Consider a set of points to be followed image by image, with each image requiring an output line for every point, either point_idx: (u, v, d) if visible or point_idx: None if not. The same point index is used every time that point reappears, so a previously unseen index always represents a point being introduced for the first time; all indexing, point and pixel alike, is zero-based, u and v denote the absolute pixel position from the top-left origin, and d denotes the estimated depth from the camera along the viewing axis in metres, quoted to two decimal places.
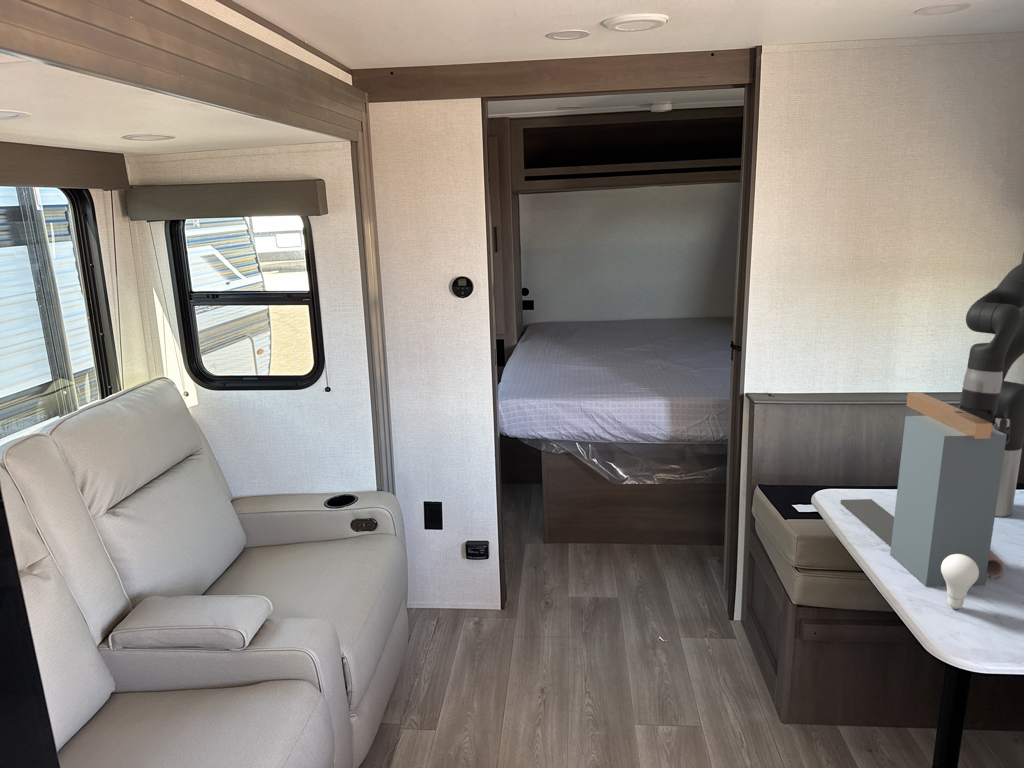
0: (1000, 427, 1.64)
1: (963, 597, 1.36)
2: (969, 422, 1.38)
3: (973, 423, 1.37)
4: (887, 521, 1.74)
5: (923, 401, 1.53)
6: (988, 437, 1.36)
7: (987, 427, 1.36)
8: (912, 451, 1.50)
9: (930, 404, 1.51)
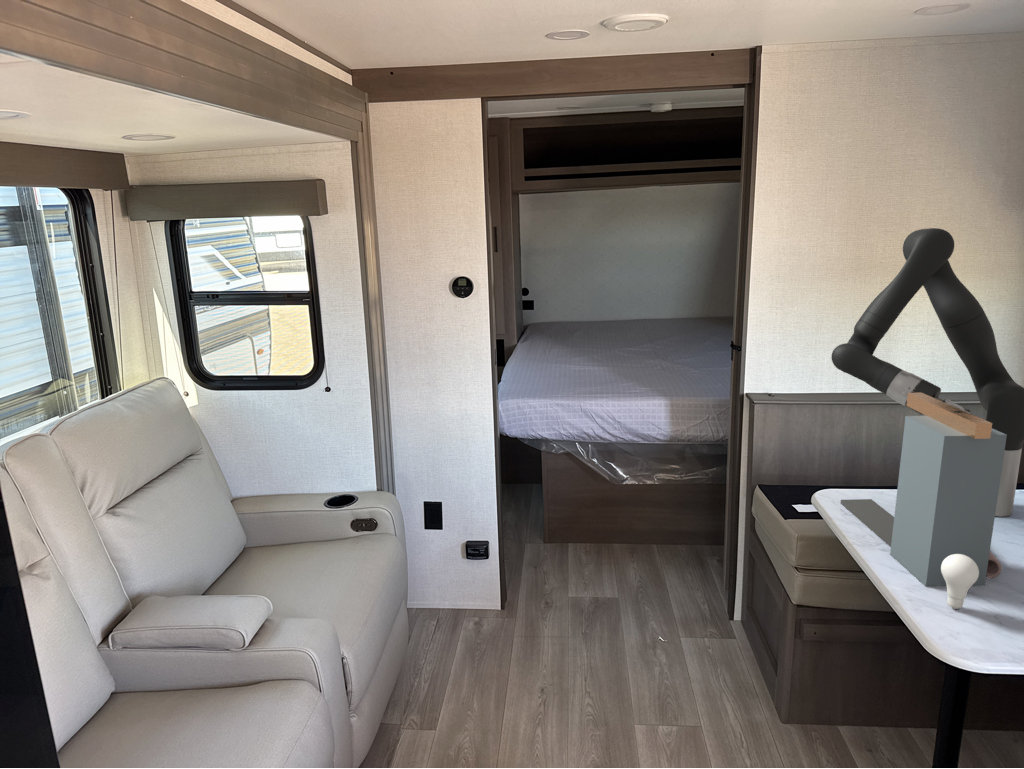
0: None
1: (963, 597, 1.36)
2: (969, 422, 1.38)
3: (973, 423, 1.37)
4: (887, 521, 1.74)
5: (923, 401, 1.53)
6: (988, 437, 1.36)
7: (987, 427, 1.36)
8: (912, 451, 1.50)
9: (930, 404, 1.51)
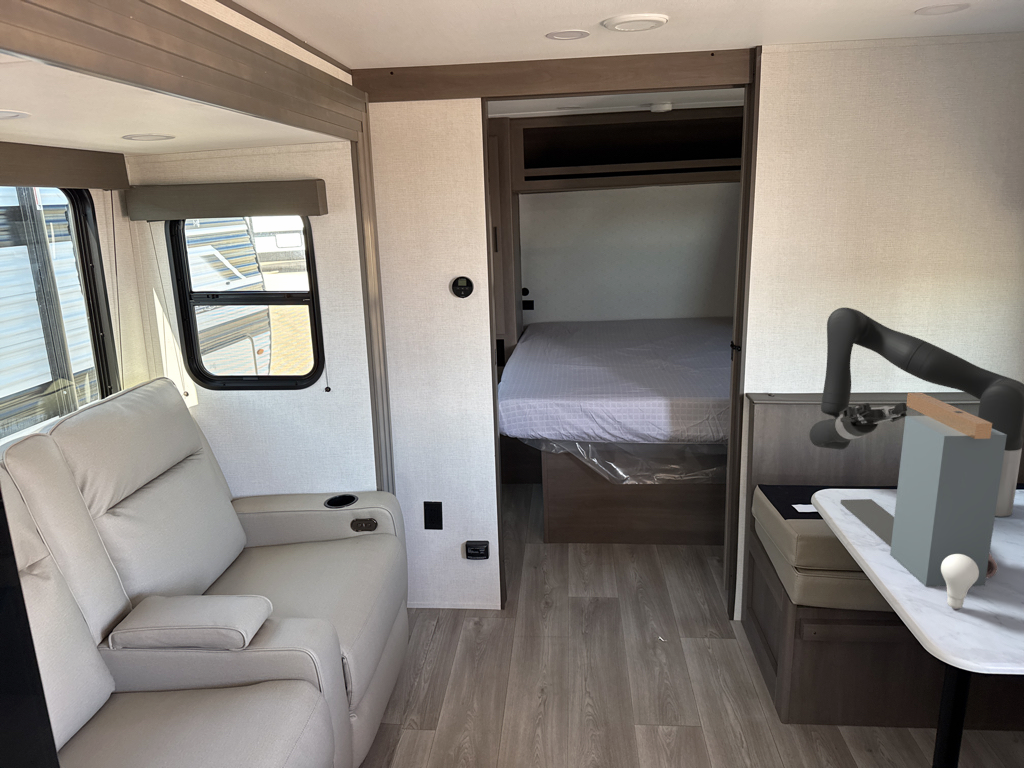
0: (847, 420, 1.79)
1: (963, 597, 1.36)
2: (969, 422, 1.38)
3: (973, 423, 1.37)
4: (887, 521, 1.74)
5: (923, 401, 1.53)
6: (988, 437, 1.36)
7: (987, 427, 1.36)
8: (912, 451, 1.50)
9: (930, 404, 1.51)
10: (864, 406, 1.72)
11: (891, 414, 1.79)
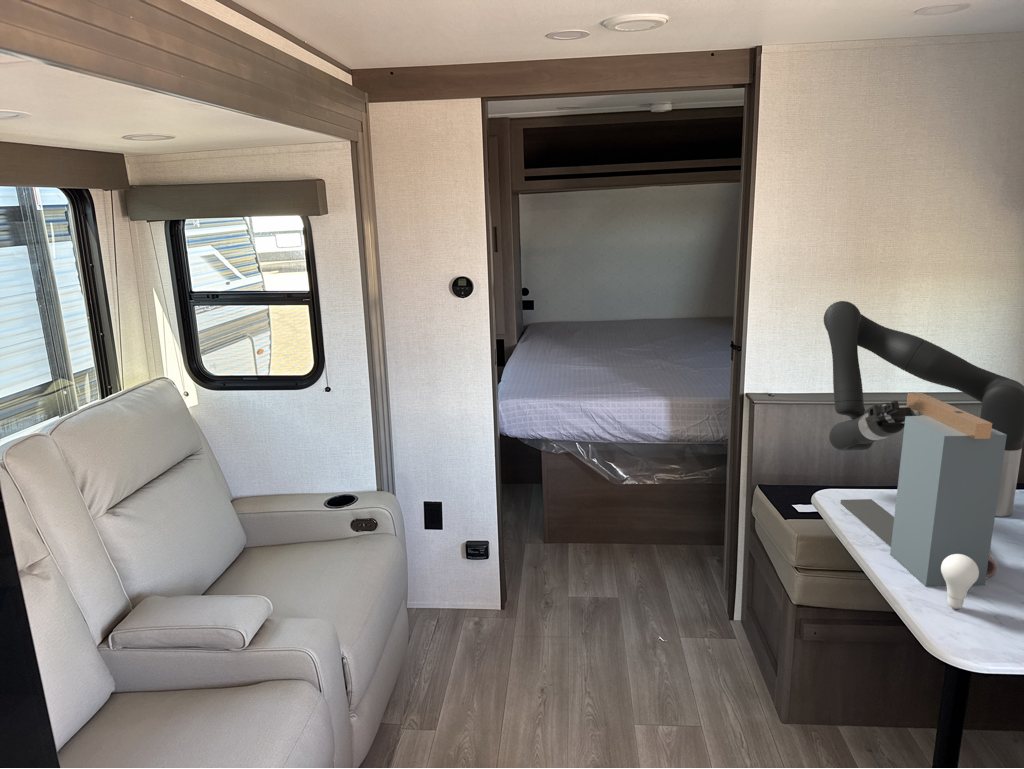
0: (873, 419, 1.66)
1: (963, 597, 1.36)
2: (969, 422, 1.38)
3: (973, 423, 1.37)
4: (887, 521, 1.74)
5: (923, 401, 1.53)
6: (988, 437, 1.36)
7: (987, 427, 1.36)
8: (912, 451, 1.50)
9: (930, 404, 1.51)
10: (892, 404, 1.59)
11: None
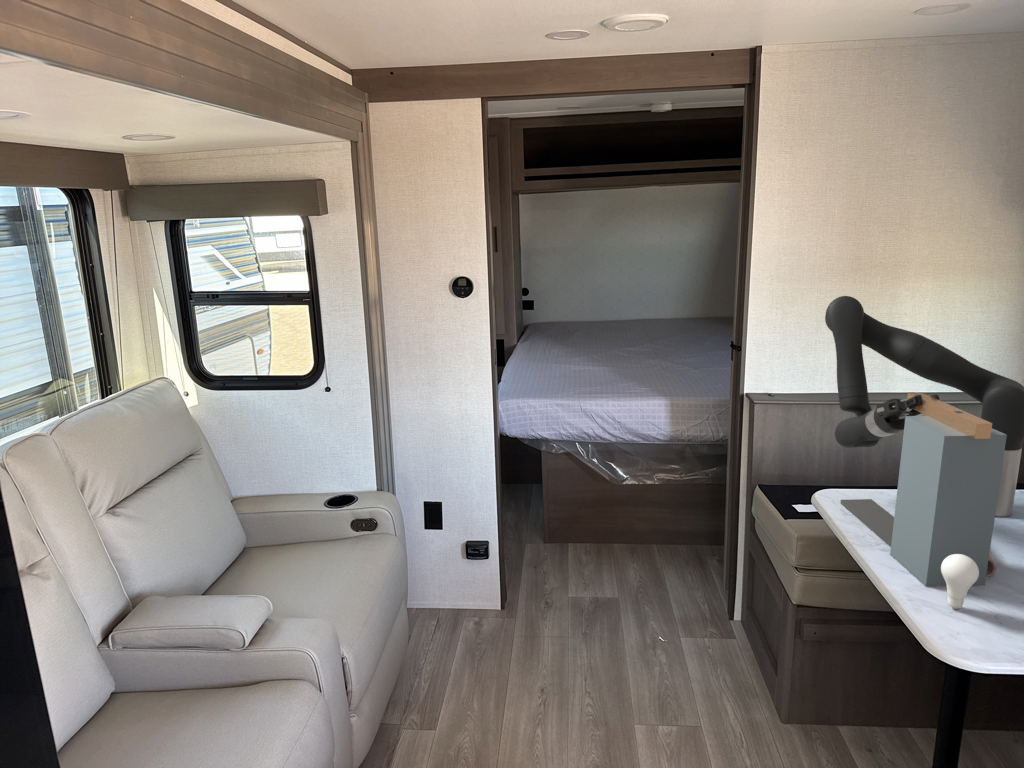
0: (887, 414, 1.61)
1: (963, 597, 1.36)
2: (969, 422, 1.38)
3: (973, 423, 1.37)
4: (887, 521, 1.74)
5: (923, 401, 1.53)
6: (988, 437, 1.36)
7: (987, 427, 1.36)
8: (912, 451, 1.50)
9: (930, 404, 1.51)
10: (916, 398, 1.54)
11: None
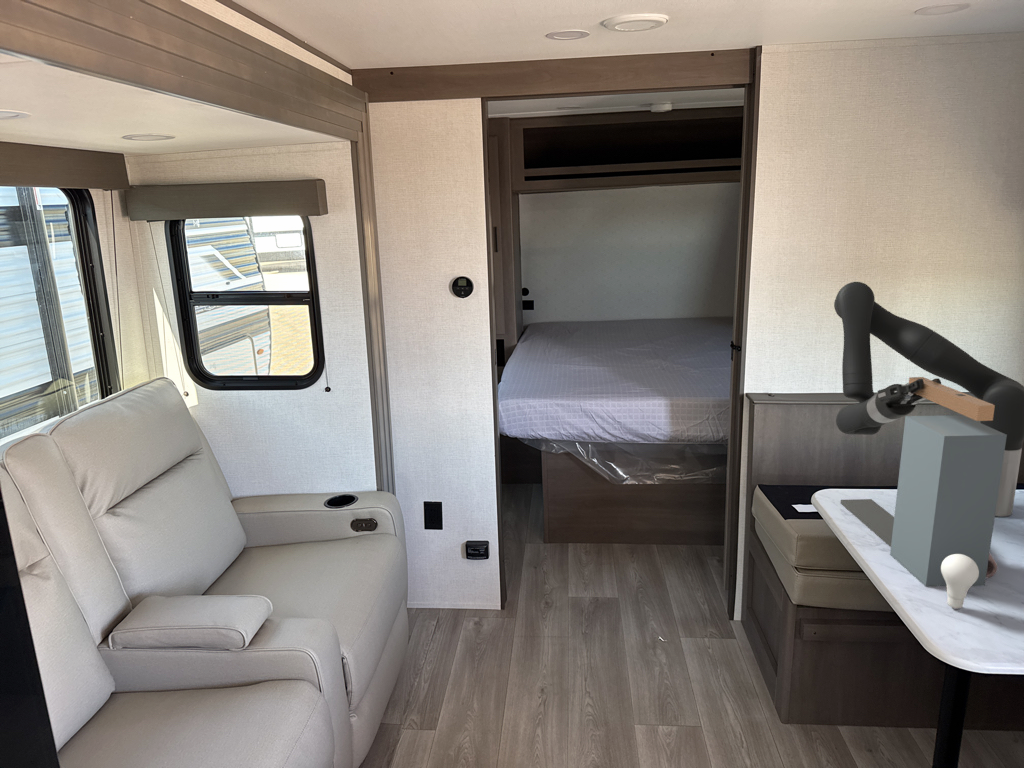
0: (889, 399, 1.60)
1: (963, 597, 1.36)
2: (971, 404, 1.37)
3: (975, 405, 1.36)
4: (887, 521, 1.74)
5: (925, 385, 1.52)
6: (991, 419, 1.35)
7: (989, 409, 1.35)
8: (912, 451, 1.50)
9: (932, 388, 1.50)
10: (917, 382, 1.53)
11: None
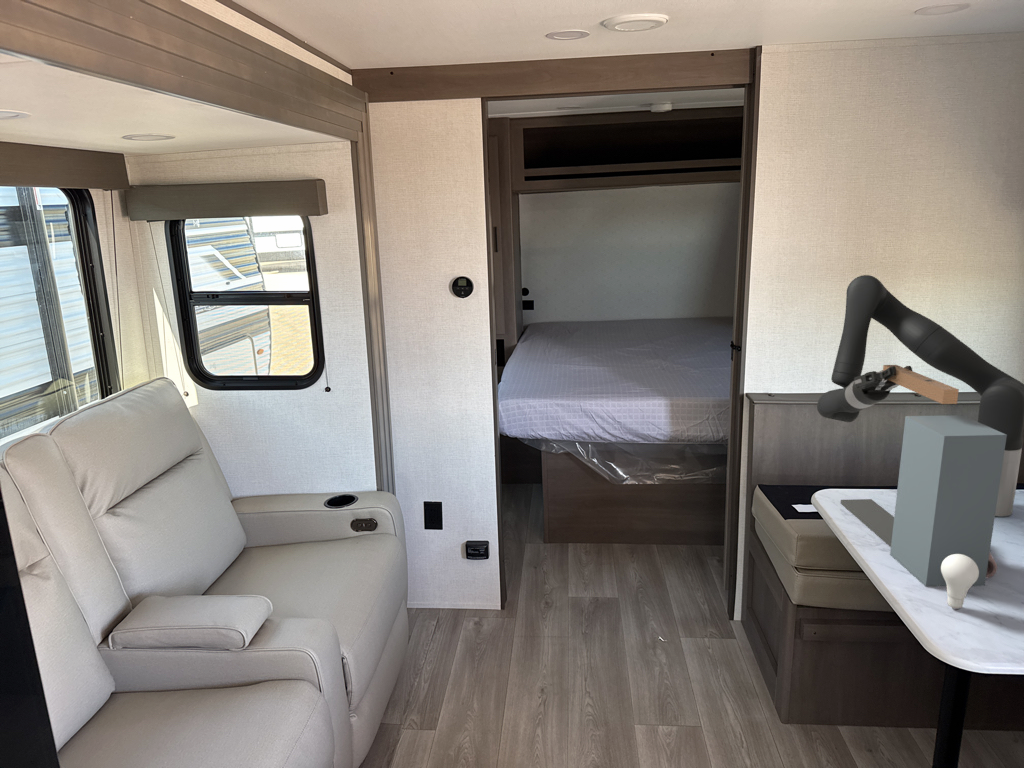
0: (864, 385, 1.71)
1: (963, 597, 1.36)
2: (937, 389, 1.48)
3: (941, 389, 1.47)
4: (887, 521, 1.74)
5: (897, 372, 1.63)
6: (955, 402, 1.47)
7: (954, 393, 1.46)
8: (912, 451, 1.50)
9: (903, 374, 1.61)
10: (890, 369, 1.64)
11: None
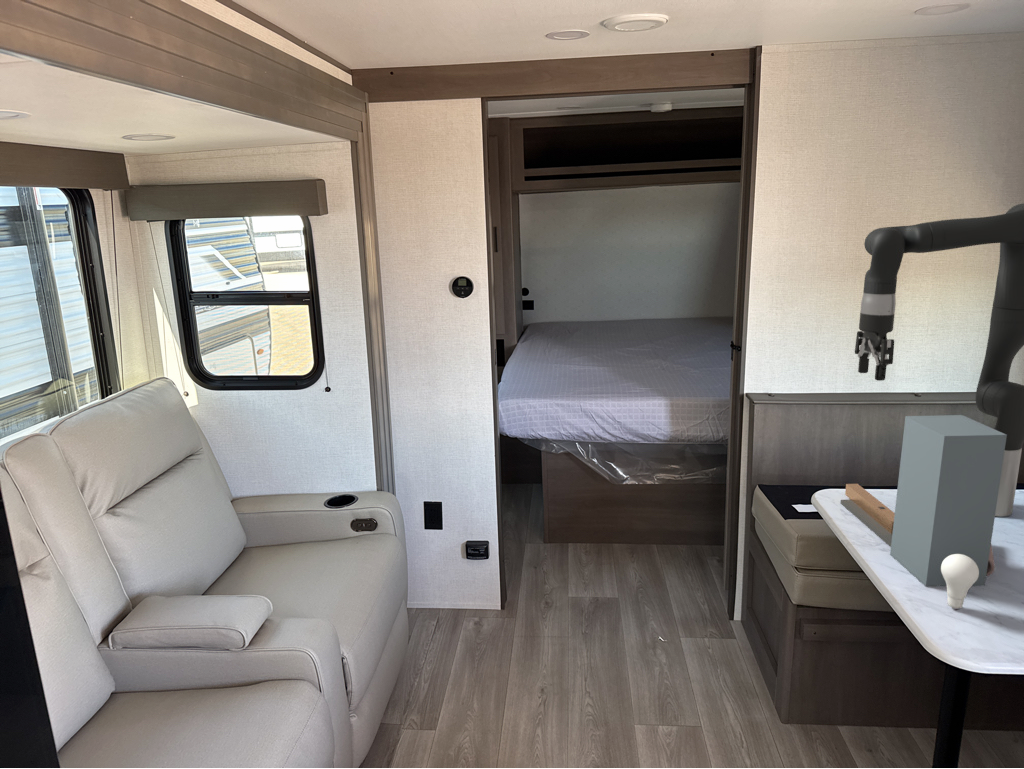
0: (881, 347, 1.71)
1: (963, 597, 1.36)
2: (887, 519, 1.69)
3: (890, 521, 1.68)
4: None
5: (856, 494, 1.84)
6: None
7: None
8: (912, 451, 1.50)
9: (861, 497, 1.81)
10: None
11: None
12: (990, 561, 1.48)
